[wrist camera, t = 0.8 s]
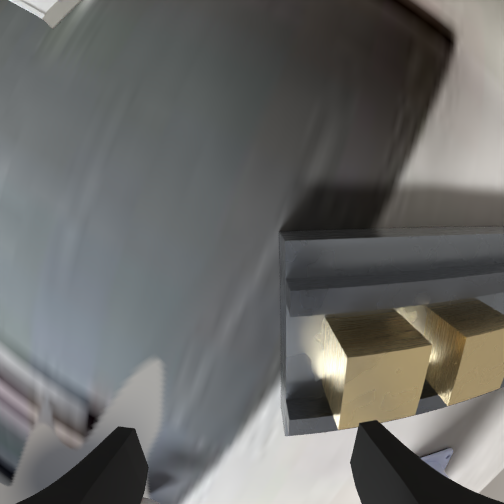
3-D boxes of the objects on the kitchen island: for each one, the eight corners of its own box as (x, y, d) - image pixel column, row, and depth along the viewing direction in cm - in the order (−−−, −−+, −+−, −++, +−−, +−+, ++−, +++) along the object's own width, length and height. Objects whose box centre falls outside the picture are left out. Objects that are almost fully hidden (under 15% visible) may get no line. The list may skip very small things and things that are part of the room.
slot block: (503, 363, 20) (534, 389, 16) (280, 407, 20) (287, 456, 16) (528, 226, 18) (570, 237, 13) (278, 231, 18) (289, 248, 13)
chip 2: (466, 357, 17) (499, 388, 13) (416, 368, 17) (447, 405, 13) (478, 299, 16) (519, 324, 12) (427, 307, 16) (466, 337, 12)
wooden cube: (387, 374, 17) (415, 414, 13) (321, 383, 17) (338, 429, 13) (396, 311, 16) (432, 344, 12) (325, 318, 16) (347, 357, 12)
